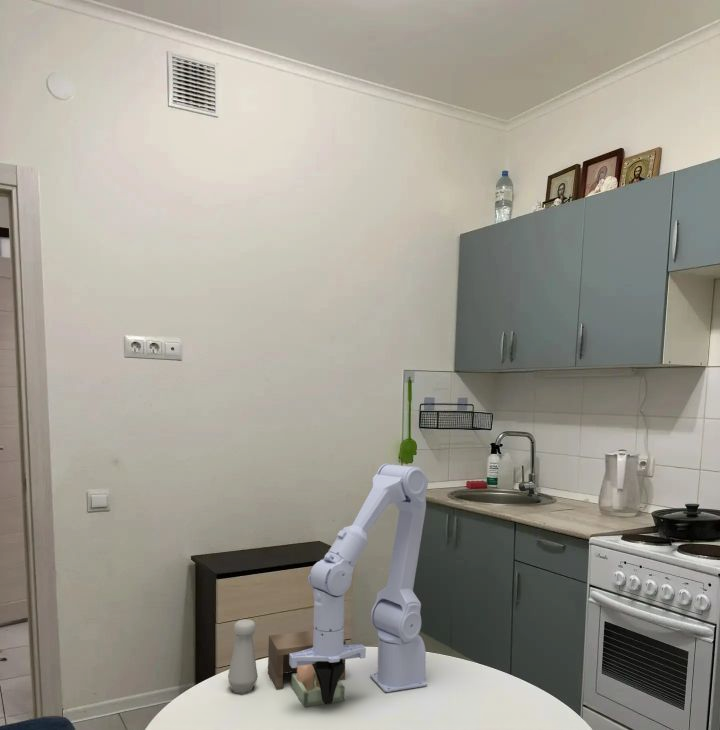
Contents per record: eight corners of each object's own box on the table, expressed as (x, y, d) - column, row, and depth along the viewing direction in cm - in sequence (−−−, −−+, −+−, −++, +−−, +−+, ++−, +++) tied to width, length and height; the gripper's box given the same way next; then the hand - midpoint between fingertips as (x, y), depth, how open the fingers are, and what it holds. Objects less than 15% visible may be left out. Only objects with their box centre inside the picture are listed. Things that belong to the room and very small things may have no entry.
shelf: (332, 664, 132) (333, 628, 132) (345, 679, 124) (345, 641, 125) (267, 673, 127) (268, 635, 127) (276, 689, 119) (277, 649, 120)
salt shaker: (250, 697, 116) (252, 627, 117) (222, 694, 117) (225, 625, 118) (261, 684, 121) (263, 617, 123) (234, 681, 123) (237, 615, 124)
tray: (329, 681, 123) (329, 654, 124) (344, 700, 115) (344, 672, 116) (291, 686, 121) (292, 660, 121) (304, 707, 112) (304, 678, 113)
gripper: (297, 638, 107) (295, 718, 106) (372, 629, 113) (371, 705, 111) (287, 625, 114) (285, 700, 113) (358, 617, 119) (357, 688, 118)
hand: (327, 701), depth 112 cm, fingers closed, pressing on tray
